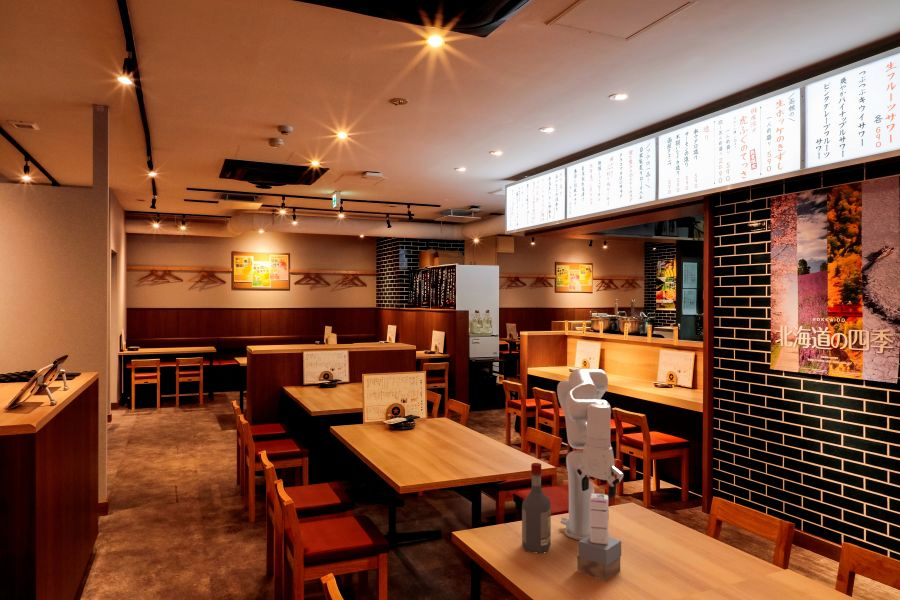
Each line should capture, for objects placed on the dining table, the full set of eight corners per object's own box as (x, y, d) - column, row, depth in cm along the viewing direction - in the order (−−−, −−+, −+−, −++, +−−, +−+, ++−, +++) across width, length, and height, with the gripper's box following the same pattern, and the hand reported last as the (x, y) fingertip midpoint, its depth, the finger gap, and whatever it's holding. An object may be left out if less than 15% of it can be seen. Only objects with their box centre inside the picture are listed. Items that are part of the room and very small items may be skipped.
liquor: (520, 551, 205) (520, 466, 205) (527, 541, 214) (527, 459, 214) (546, 555, 202) (546, 469, 202) (551, 544, 210) (551, 462, 210)
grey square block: (578, 556, 190) (578, 541, 190) (593, 547, 197) (593, 532, 197) (606, 566, 183) (606, 550, 183) (621, 555, 191) (621, 540, 191)
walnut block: (577, 571, 190) (577, 556, 190) (593, 561, 197) (593, 547, 197) (604, 581, 183) (604, 566, 183) (620, 571, 190) (620, 556, 190)
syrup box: (608, 544, 187) (608, 499, 187) (589, 542, 189) (589, 497, 189) (608, 538, 192) (609, 494, 193) (590, 536, 194) (590, 492, 195)
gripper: (569, 439, 194) (569, 490, 194) (617, 449, 182) (616, 503, 182) (581, 435, 199) (581, 484, 200) (628, 444, 187) (628, 497, 188)
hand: (598, 493), depth 191 cm, fingers open, 9 cm apart
